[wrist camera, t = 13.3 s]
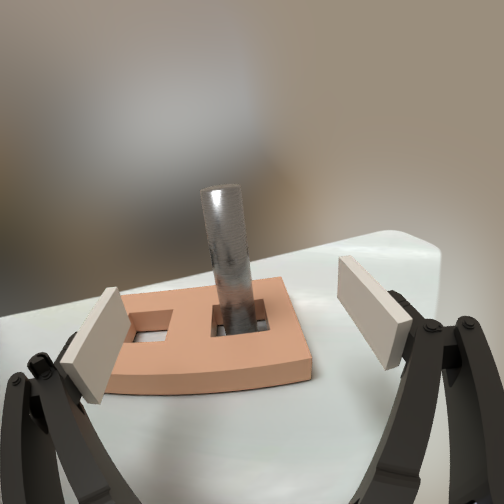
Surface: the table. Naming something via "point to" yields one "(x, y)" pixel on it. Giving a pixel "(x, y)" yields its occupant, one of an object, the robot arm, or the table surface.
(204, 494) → the table surface
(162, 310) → the terracotta block
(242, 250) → the steel dowel
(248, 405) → the table surface
